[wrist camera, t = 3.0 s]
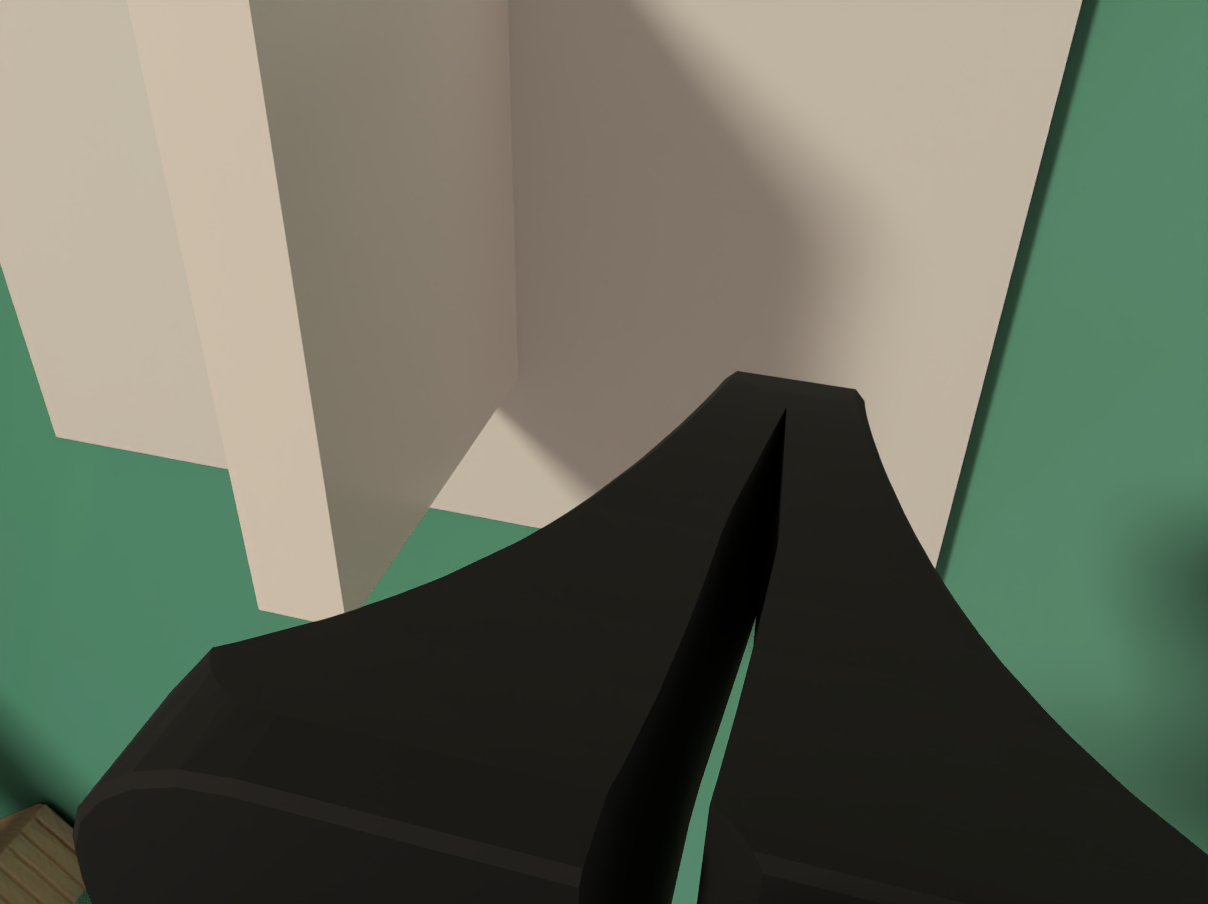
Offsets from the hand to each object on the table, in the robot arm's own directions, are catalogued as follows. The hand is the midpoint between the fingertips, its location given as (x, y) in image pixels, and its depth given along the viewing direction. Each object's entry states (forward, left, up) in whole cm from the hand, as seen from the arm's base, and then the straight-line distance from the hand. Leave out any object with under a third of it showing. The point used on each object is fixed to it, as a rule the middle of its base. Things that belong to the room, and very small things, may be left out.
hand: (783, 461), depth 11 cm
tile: (+7, 0, -9) cm, 11 cm away
